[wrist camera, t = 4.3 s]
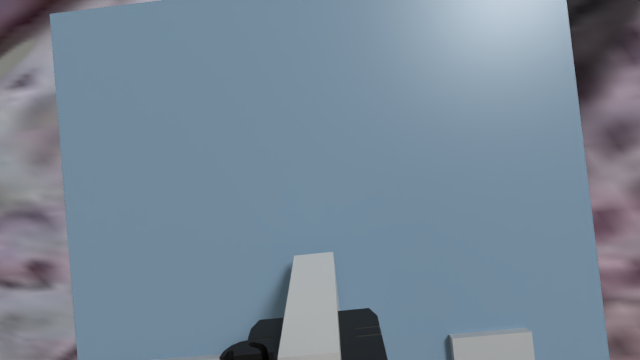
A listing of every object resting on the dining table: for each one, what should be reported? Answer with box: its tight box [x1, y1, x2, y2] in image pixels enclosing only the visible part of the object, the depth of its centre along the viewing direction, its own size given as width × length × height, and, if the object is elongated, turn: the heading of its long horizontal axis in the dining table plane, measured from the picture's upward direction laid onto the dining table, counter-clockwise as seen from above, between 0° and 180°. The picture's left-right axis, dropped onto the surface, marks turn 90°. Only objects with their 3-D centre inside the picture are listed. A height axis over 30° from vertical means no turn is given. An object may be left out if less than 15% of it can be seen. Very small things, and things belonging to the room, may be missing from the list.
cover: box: [50, 0, 610, 360], centre depth 18 cm, size 21×16×2 cm
